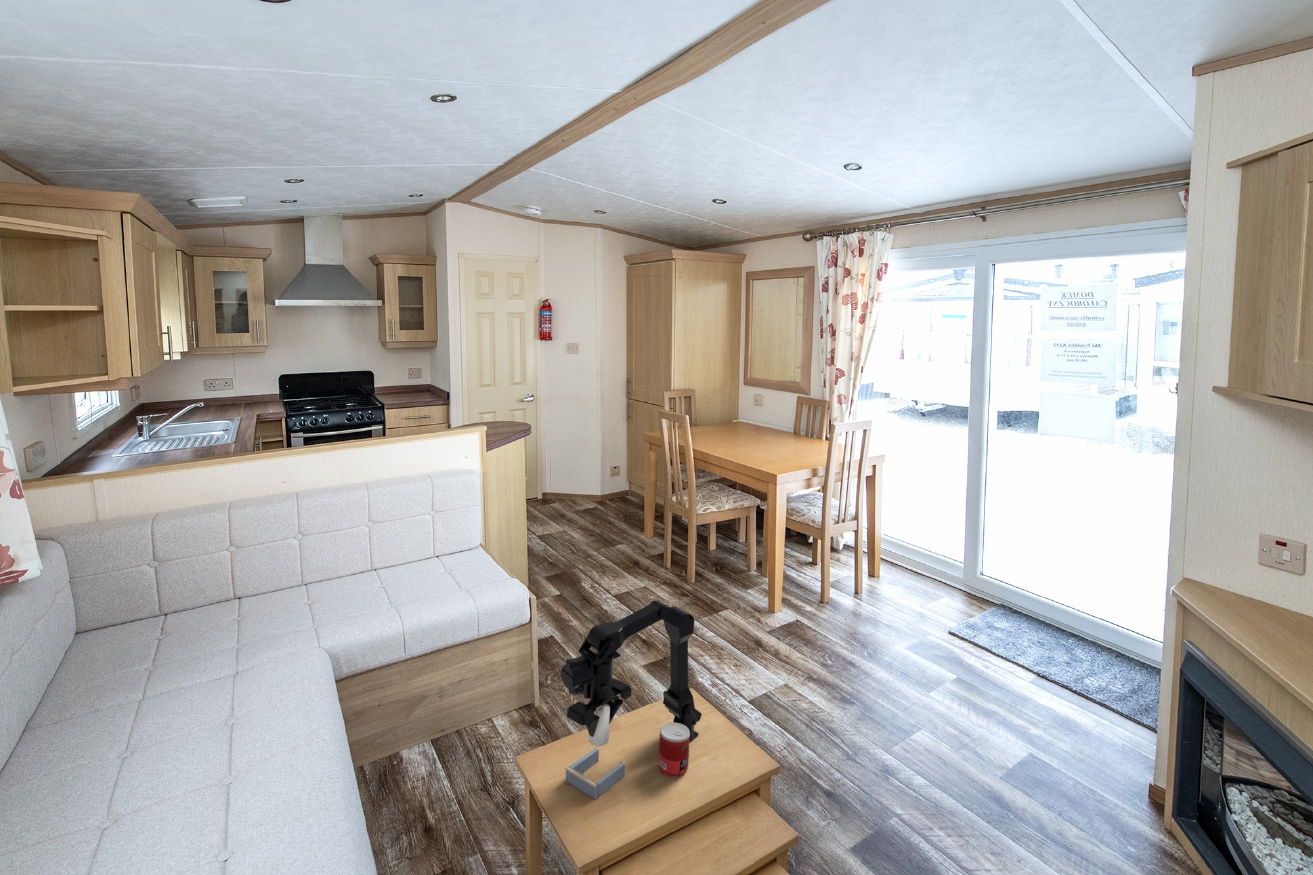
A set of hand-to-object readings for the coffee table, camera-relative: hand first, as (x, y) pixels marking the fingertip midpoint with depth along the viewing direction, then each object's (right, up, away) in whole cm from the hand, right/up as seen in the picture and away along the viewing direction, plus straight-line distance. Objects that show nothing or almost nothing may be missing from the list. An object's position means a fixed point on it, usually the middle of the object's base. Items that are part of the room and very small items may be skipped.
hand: (599, 731), depth 175 cm
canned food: (+19, -13, +7) cm, 24 cm away
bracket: (-1, -13, +2) cm, 13 cm away
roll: (0, -2, 0) cm, 2 cm away
